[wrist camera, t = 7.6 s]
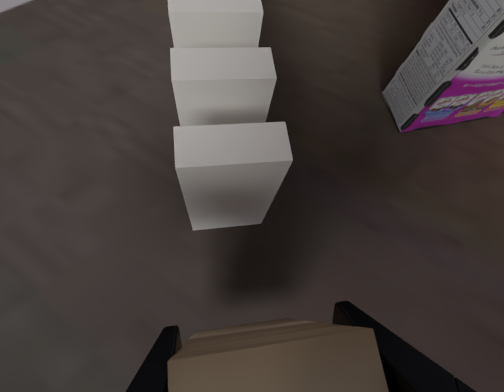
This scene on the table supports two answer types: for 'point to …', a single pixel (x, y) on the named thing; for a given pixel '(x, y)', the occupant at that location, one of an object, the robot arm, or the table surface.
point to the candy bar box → (452, 69)
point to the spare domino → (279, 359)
